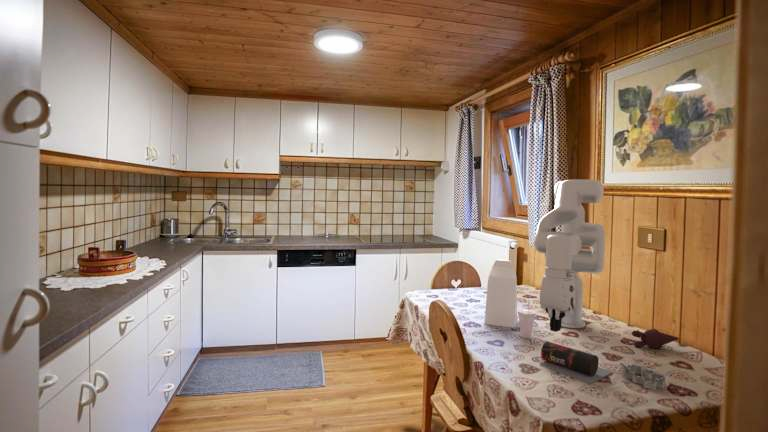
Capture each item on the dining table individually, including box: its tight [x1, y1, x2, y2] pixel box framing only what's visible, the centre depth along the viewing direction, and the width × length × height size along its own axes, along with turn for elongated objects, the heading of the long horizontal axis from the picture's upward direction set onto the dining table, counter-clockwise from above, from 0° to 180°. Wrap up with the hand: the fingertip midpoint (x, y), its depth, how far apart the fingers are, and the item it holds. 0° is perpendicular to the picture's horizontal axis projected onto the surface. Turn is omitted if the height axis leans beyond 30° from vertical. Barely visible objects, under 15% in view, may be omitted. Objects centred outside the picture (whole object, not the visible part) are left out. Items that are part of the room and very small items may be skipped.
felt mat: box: [539, 360, 614, 385], centre depth 126 cm, size 13×16×1 cm
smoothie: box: [517, 299, 537, 339], centre depth 154 cm, size 6×6×14 cm
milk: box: [483, 259, 518, 329], centre depth 171 cm, size 12×12×26 cm
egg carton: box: [619, 362, 669, 391], centre depth 119 cm, size 11×8×4 cm
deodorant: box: [540, 341, 599, 376], centre depth 126 cm, size 6×6×15 cm
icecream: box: [631, 328, 679, 350], centre depth 146 cm, size 7×7×15 cm
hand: (555, 330), depth 131 cm, fingers closed
